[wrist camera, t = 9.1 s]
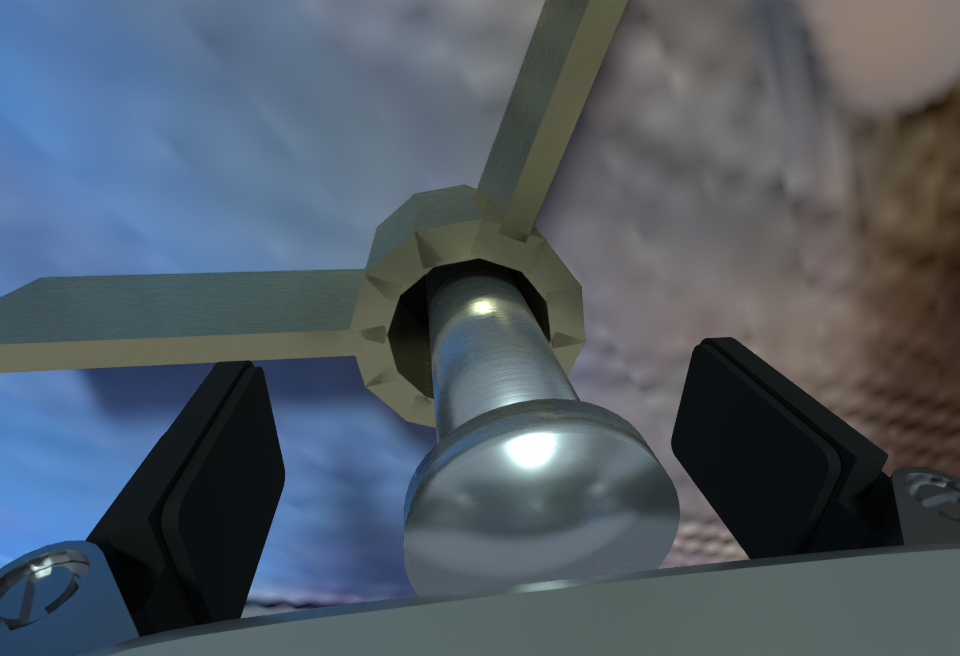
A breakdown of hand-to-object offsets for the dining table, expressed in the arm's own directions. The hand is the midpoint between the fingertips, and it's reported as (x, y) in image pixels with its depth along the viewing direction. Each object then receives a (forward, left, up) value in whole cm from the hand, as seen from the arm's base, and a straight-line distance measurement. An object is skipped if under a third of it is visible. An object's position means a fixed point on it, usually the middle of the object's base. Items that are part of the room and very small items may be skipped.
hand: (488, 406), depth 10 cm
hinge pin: (0, 0, -8) cm, 8 cm away
